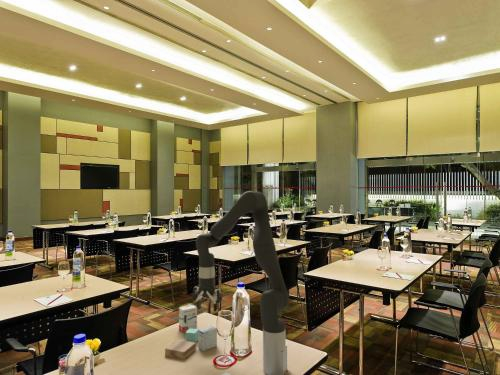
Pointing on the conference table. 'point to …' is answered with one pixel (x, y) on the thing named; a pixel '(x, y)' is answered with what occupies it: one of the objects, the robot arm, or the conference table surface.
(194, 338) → the teal cube
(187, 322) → the ink box
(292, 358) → the conference table surface
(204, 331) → the medicine box
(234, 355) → the conference table surface
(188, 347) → the walnut slab
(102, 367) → the conference table surface
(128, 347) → the conference table surface
